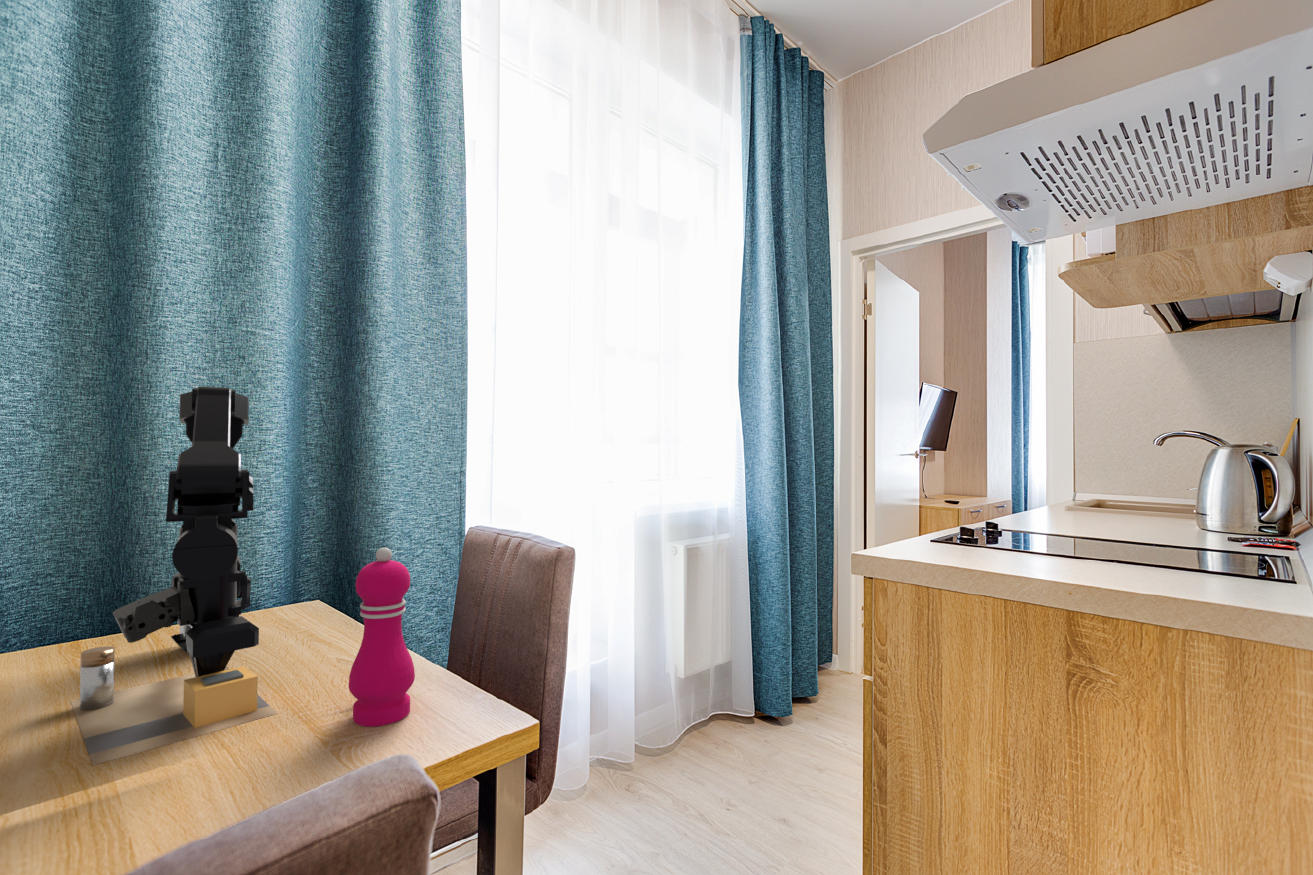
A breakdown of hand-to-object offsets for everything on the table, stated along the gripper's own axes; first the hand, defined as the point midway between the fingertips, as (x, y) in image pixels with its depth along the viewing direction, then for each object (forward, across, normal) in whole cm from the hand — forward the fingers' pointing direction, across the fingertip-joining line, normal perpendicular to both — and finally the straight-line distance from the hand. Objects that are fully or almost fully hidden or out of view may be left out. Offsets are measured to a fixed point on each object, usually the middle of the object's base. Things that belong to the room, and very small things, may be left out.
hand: (206, 694), depth 75 cm
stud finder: (+1, +4, 0) cm, 4 cm away
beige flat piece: (+2, -2, -3) cm, 4 cm away
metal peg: (+1, -9, -9) cm, 13 cm away
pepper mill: (+2, +16, +14) cm, 22 cm away
